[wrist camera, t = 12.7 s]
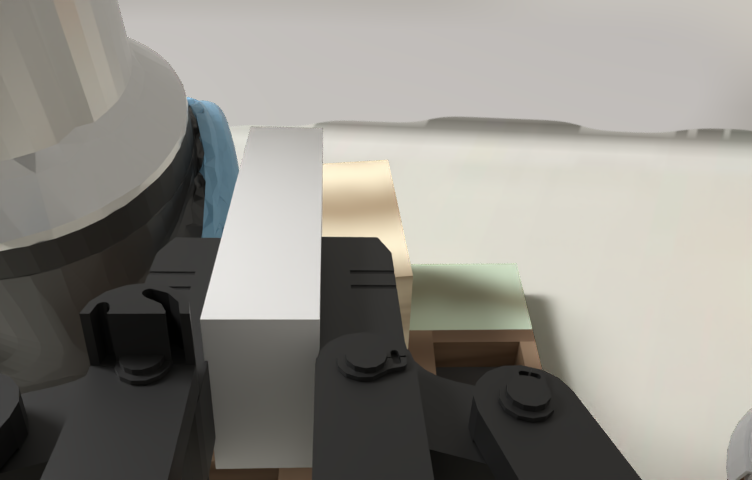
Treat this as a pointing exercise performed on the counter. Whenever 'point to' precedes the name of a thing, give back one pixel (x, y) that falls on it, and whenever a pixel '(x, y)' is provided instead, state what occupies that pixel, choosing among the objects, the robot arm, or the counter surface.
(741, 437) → the food container
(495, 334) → the board
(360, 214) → the block
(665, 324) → the counter surface
